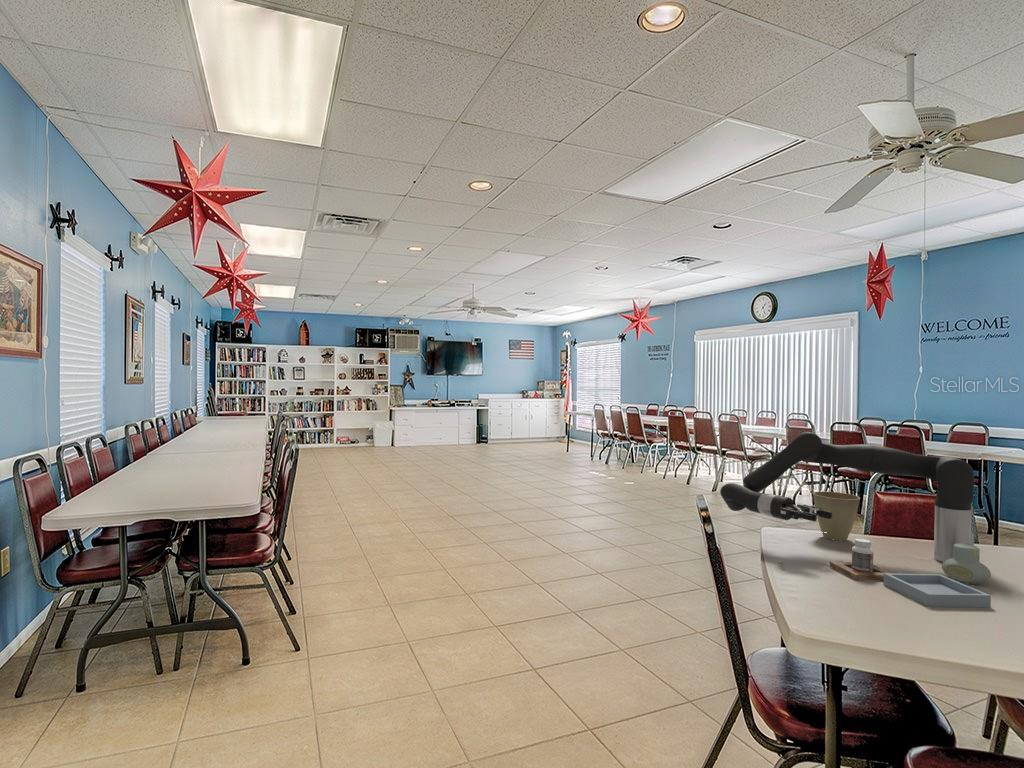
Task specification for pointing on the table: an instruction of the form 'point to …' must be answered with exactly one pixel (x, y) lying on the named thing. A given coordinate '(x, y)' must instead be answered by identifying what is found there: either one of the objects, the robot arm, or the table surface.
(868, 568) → the pill bottle
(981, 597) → the slate tray
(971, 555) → the air freshener
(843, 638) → the table surface
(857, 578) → the walnut socket
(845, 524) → the plant pot
